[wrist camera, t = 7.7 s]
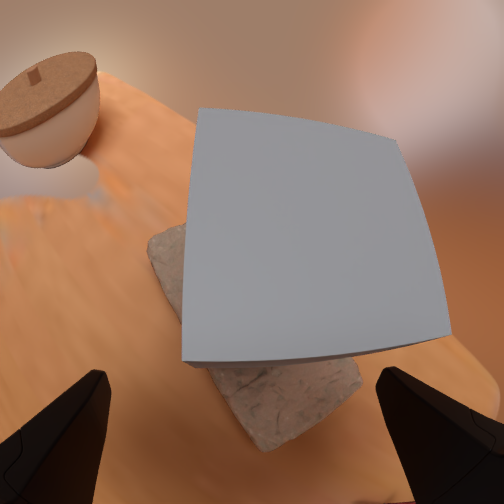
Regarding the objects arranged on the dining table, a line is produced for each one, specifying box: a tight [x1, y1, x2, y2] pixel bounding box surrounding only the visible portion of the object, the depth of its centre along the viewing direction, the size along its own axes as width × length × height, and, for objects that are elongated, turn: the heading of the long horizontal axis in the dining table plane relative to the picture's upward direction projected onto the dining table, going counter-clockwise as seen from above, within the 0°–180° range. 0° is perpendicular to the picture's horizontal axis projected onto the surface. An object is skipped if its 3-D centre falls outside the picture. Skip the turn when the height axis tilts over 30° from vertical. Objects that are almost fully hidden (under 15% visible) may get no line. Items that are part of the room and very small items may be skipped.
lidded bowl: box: [0, 52, 100, 169], centre depth 21 cm, size 13×13×11 cm
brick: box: [147, 223, 363, 452], centre depth 19 cm, size 17×8×5 cm, turn 31°
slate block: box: [182, 108, 452, 368], centre depth 11 cm, size 5×5×13 cm
